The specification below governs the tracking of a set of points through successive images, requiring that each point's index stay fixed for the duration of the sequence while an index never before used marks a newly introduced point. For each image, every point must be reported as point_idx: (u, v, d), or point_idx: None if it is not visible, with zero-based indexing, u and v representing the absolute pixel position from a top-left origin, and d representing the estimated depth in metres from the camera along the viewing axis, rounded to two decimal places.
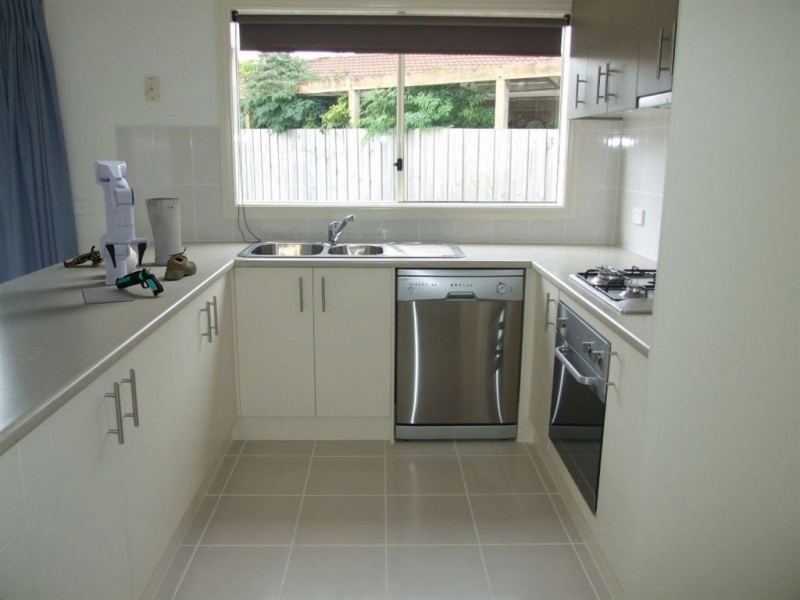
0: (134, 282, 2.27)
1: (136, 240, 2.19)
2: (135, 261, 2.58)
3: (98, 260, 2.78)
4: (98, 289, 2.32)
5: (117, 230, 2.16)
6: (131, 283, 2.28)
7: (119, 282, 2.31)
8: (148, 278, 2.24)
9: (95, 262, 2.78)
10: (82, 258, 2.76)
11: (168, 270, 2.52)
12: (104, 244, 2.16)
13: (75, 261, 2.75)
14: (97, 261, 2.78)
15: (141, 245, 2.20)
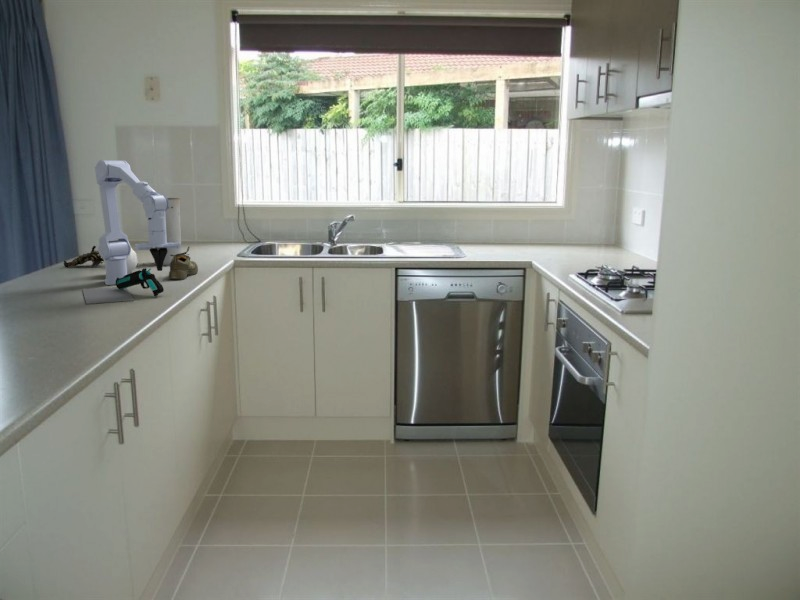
0: (134, 282, 2.27)
1: (168, 245, 2.28)
2: (135, 261, 2.58)
3: (98, 260, 2.78)
4: (98, 289, 2.32)
5: (150, 235, 2.25)
6: (131, 283, 2.28)
7: (119, 282, 2.31)
8: (148, 278, 2.24)
9: (95, 262, 2.77)
10: (82, 258, 2.75)
11: (173, 270, 2.53)
12: (138, 249, 2.25)
13: (75, 261, 2.75)
14: (97, 261, 2.77)
15: (162, 250, 2.28)
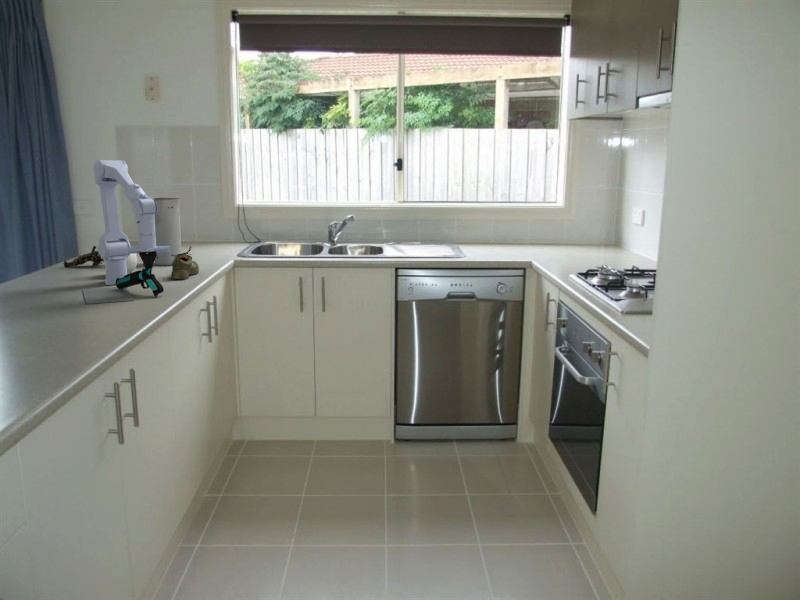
0: (134, 282, 2.27)
1: (157, 248, 2.27)
2: (135, 261, 2.58)
3: (98, 261, 2.77)
4: (98, 289, 2.32)
5: (139, 239, 2.24)
6: (131, 283, 2.28)
7: (119, 282, 2.31)
8: (148, 278, 2.24)
9: (95, 263, 2.76)
10: (82, 258, 2.75)
11: (175, 270, 2.53)
12: (127, 252, 2.24)
13: (75, 261, 2.74)
14: (97, 262, 2.77)
15: (151, 254, 2.26)
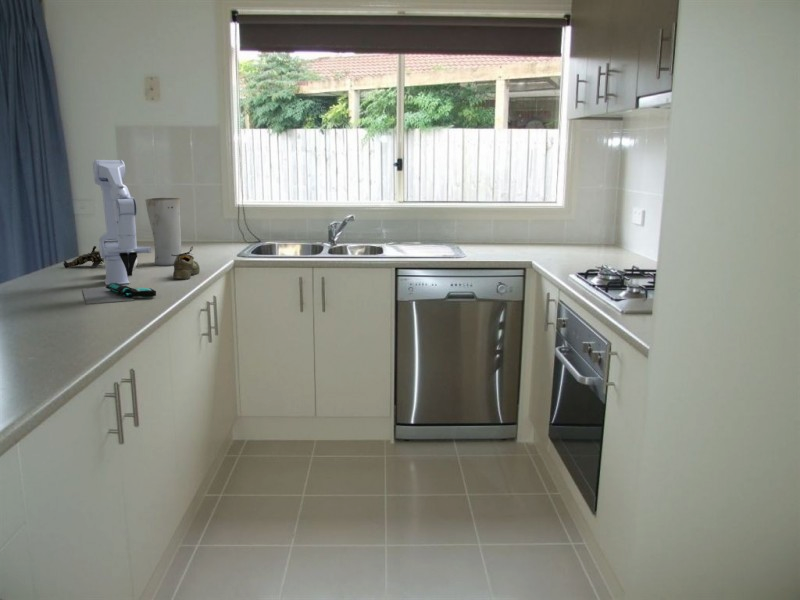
0: None
1: (138, 249, 2.24)
2: (135, 261, 2.58)
3: (98, 261, 2.77)
4: (98, 289, 2.32)
5: (119, 239, 2.21)
6: None
7: None
8: (136, 296, 2.20)
9: (95, 263, 2.76)
10: (82, 259, 2.74)
11: (177, 270, 2.53)
12: (107, 253, 2.21)
13: (75, 261, 2.74)
14: (97, 262, 2.76)
15: (132, 254, 2.24)
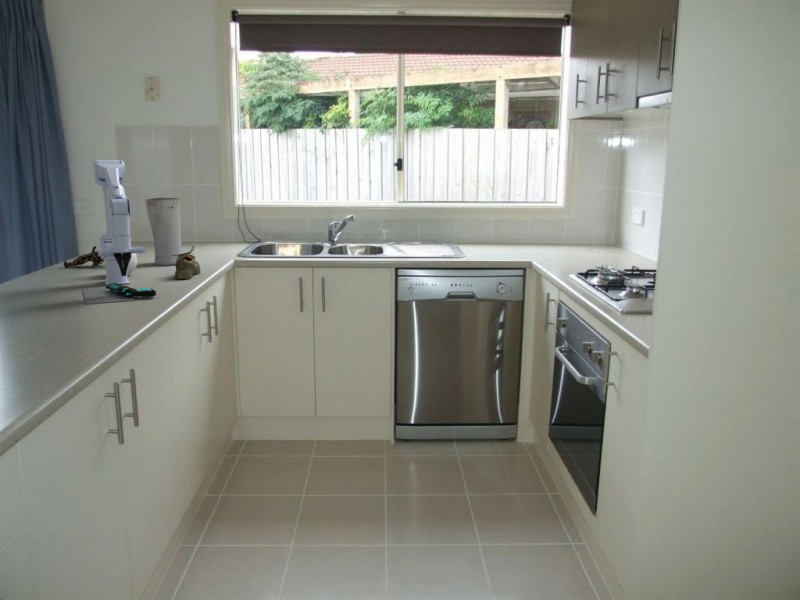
0: None
1: (132, 249, 2.23)
2: (135, 261, 2.58)
3: (98, 261, 2.76)
4: (98, 289, 2.32)
5: (113, 240, 2.21)
6: None
7: None
8: (136, 296, 2.20)
9: (95, 263, 2.76)
10: (82, 259, 2.74)
11: (179, 269, 2.54)
12: (101, 253, 2.20)
13: (75, 262, 2.74)
14: (97, 262, 2.76)
15: (126, 255, 2.23)
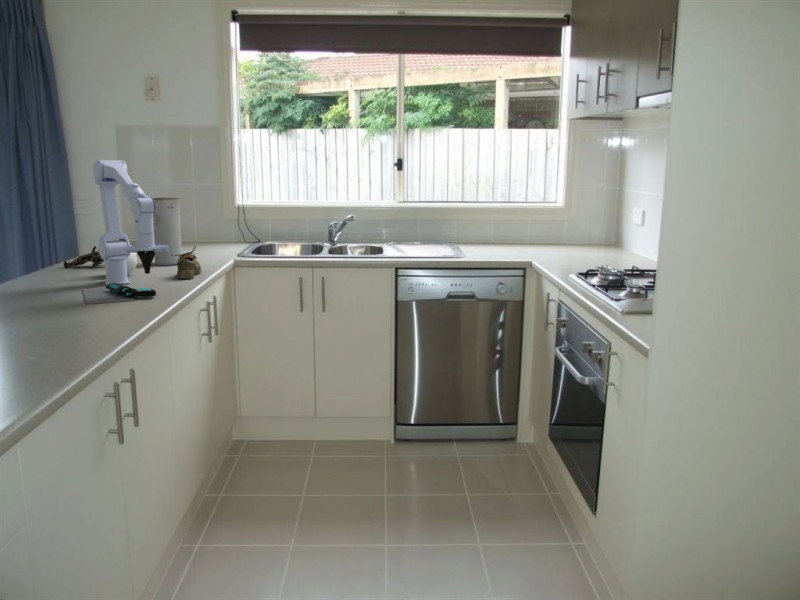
0: None
1: (156, 247, 2.26)
2: (135, 261, 2.58)
3: (98, 261, 2.76)
4: (98, 289, 2.32)
5: (138, 238, 2.24)
6: None
7: None
8: (136, 296, 2.20)
9: (95, 263, 2.76)
10: (82, 259, 2.74)
11: (182, 269, 2.54)
12: (125, 251, 2.23)
13: (75, 262, 2.73)
14: (97, 262, 2.76)
15: (150, 253, 2.26)
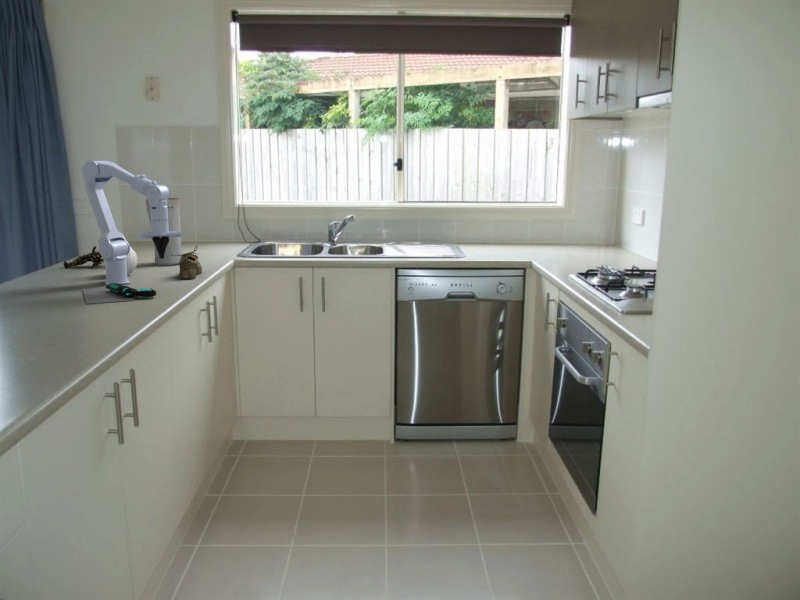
0: None
1: (170, 233, 2.35)
2: (135, 261, 2.58)
3: (98, 261, 2.76)
4: (98, 289, 2.32)
5: (153, 224, 2.33)
6: None
7: None
8: (136, 296, 2.20)
9: (95, 263, 2.75)
10: (82, 259, 2.74)
11: (184, 269, 2.54)
12: (141, 237, 2.32)
13: (75, 262, 2.73)
14: (97, 262, 2.76)
15: (164, 238, 2.35)
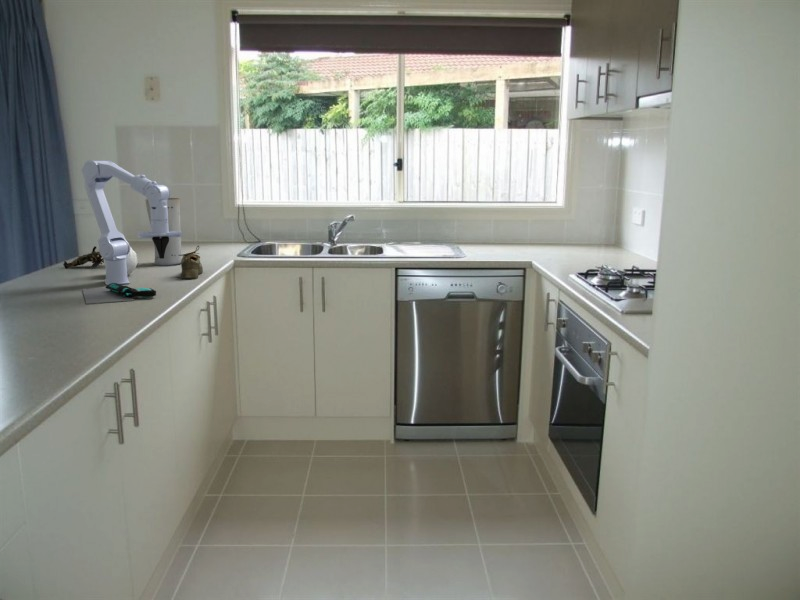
0: None
1: (170, 233, 2.35)
2: (135, 261, 2.58)
3: (98, 261, 2.76)
4: (98, 289, 2.32)
5: (153, 224, 2.33)
6: None
7: None
8: (136, 296, 2.20)
9: (95, 263, 2.75)
10: (82, 259, 2.73)
11: (187, 269, 2.55)
12: (141, 237, 2.32)
13: (75, 262, 2.73)
14: (97, 262, 2.75)
15: (164, 238, 2.35)
